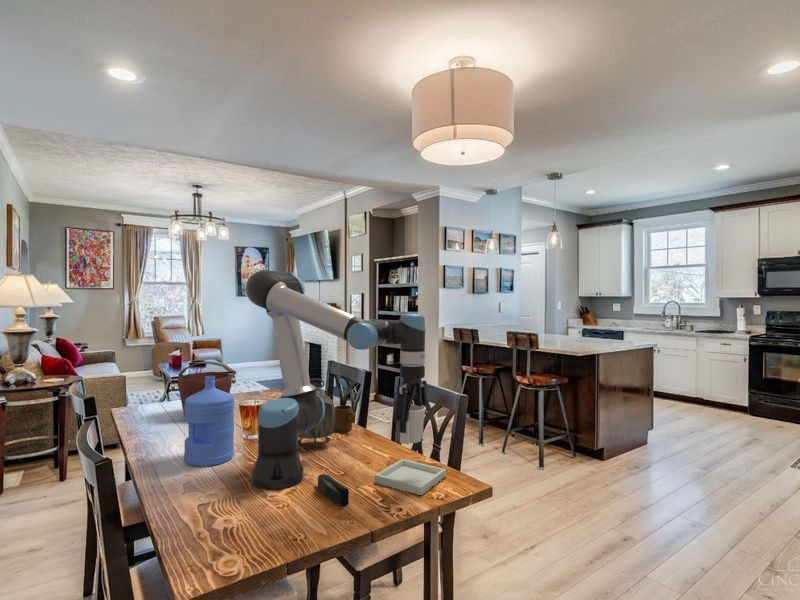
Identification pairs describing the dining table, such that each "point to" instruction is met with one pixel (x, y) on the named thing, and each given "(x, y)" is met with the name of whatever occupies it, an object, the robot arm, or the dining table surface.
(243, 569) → the dining table surface
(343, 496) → the dark green rounded block
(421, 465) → the tray
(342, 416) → the mug
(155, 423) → the dining table surface
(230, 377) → the bucket
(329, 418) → the tabletop clock
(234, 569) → the dining table surface
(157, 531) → the dining table surface
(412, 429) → the dixie cup
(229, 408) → the water jug
